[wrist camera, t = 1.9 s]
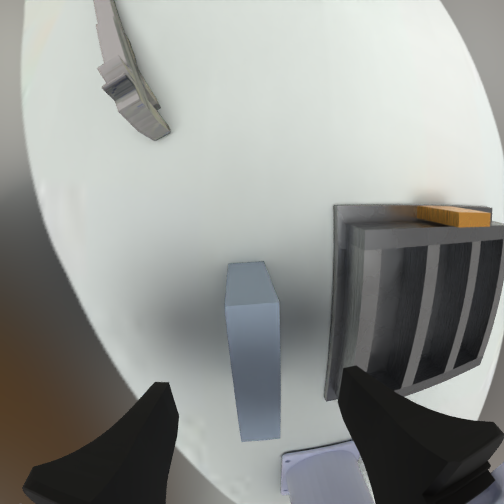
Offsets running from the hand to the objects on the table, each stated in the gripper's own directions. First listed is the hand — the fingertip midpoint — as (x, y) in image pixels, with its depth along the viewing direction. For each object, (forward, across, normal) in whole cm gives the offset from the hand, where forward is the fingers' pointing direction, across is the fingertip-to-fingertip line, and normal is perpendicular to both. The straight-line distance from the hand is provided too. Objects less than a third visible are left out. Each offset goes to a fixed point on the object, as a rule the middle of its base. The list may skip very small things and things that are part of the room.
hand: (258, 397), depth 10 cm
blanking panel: (+7, 0, 0) cm, 7 cm away
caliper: (+7, +8, -21) cm, 24 cm away
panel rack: (+7, -12, 0) cm, 14 cm away
